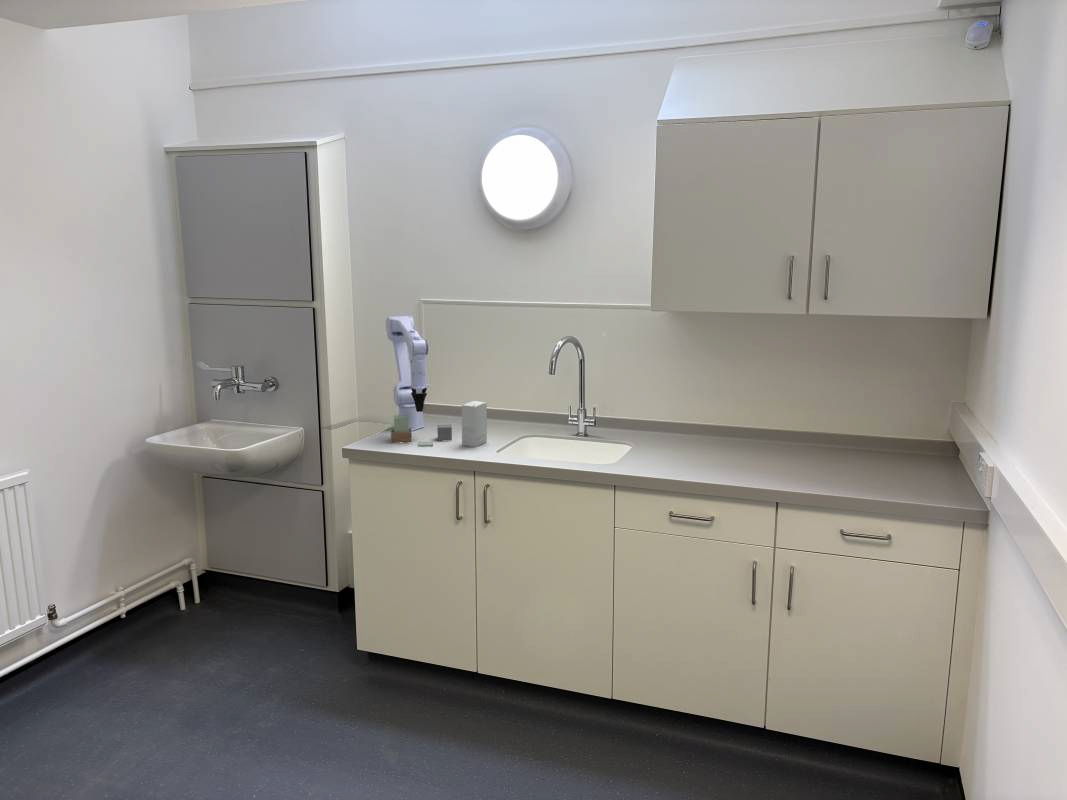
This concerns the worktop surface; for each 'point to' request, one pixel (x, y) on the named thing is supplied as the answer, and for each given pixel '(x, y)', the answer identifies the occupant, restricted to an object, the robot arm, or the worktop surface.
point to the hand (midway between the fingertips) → (419, 409)
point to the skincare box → (474, 423)
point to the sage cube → (401, 423)
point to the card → (426, 443)
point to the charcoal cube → (444, 432)
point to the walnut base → (401, 436)
